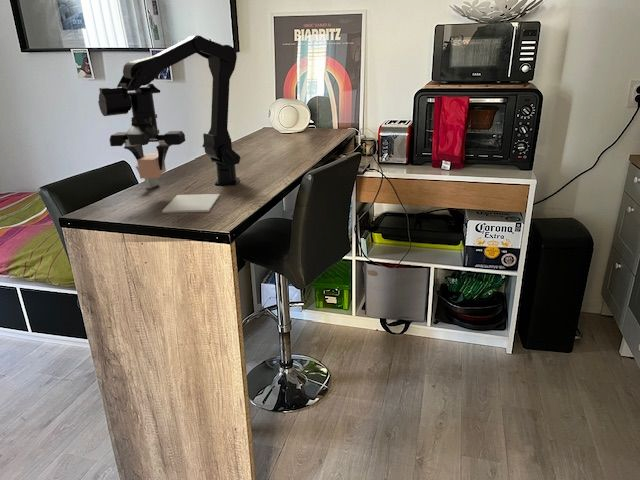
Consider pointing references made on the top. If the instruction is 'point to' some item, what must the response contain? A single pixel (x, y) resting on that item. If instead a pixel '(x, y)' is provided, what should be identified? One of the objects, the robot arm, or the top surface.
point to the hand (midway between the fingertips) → (152, 169)
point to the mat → (191, 203)
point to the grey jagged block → (149, 180)
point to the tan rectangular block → (150, 166)
